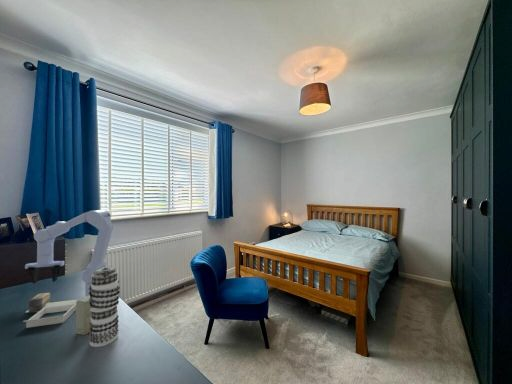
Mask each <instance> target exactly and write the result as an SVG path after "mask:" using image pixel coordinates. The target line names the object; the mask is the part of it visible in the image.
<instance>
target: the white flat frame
mask: <svg viewBox="0 0 512 384" xmlns="http://www.w3.org/2000/svg"><path fill="white" fill-rule="evenodd" d="M79 299H80V298H79ZM79 299H71V300H62V301H55V302H53V301H52V302H50V303H47V304H46V305H45V307H44V308H43V309H42V310H40V311H38V312H36V313H35V314H34V315H33V316H31V317H29V319H28V320H27V319H25V320H22V322H23V323H25V324H26V325H25V326H26V327H25V328H26V329H28V328H35V327H40V326H41V327H42V326H49V325H56V324H63V323H64V322H66V320H67V319H69V318H70V317H71V315H73V313H74V312H76V301H77V300H79ZM59 312H65V313H64V314H63V315H55V316H51V317H50V316H49V317H43V316H44V315H45V314H52V313H59Z"/></svg>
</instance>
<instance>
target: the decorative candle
mask: <svg viewBox="0 0 512 384" xmlns="http://www.w3.org/2000/svg"><path fill="white" fill-rule="evenodd" d="M118 273H119V270H118V269H116V267H114V266H106V267H103V268H99V269H97V270H96V271H95V272H94V273H93V274H92V275H91V276H92V284H91V286H90V288H89V290H90V292H89V294H90V298H89V300H90V303H89V304H90V306H91V308H90V310H91V311H92V317H91V323H90V332H89V334H88V335H89V338H88V340H89V345H90V346H91V347H93V348H96V347H97V348H99V347H100V348H101V347H104V346H106V345H108V344H111V343H113V342H114V341H115V340H116V339H117V338H118V337H119V317H120V316H119V315H118V313H119V312H118V305H119V302H120V301H119V299H120V296H119V294H120V288H121V287H120V286H119V285H118V284H119V283H120V280H119V279H118ZM91 288H92V289H91ZM91 292H92V293H91Z"/></svg>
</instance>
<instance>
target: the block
mask: <svg viewBox="0 0 512 384" xmlns="http://www.w3.org/2000/svg"><path fill="white" fill-rule="evenodd" d="M47 303H51V293H50V292H41V293H38V294H36V295H35V296H34V297H32V298H31V299H29V300H28V310H29V312H30V313H35V312H34V311H38V312H39V311H40V310H42V309H43V308H44V307H45V305H46V304H47Z"/></svg>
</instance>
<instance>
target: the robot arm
mask: <svg viewBox="0 0 512 384" xmlns="http://www.w3.org/2000/svg"><path fill="white" fill-rule="evenodd" d="M111 218H112V214H111V213H110V212H109V211H108V210H106V209H97V210H89V211H86V212H83V213H81V214H80V215H78V216H76V217H72V218H71V219H70V220H67V221H65V220H64V221H60V220H58V221H56V222H55V223H54V224H52V225H48V226H45V229H38V230H36V231H35V232H34V234H33V239H34V240H35V241H36V242H37V244H36V245H37V246H36V247H37V248H36V262H30V263H26V264H25V265H24V269H25V272H26V273H27V275H28V276H29V277H30V279H31V282H32V284H36V283H38V280H39V270H40V268H49V267H51V268H50V269H51V274H52V275H51V276H52V278H51V279H52V282H54V283H55V282H56V281H58V278H59V273H60V272H61V270H62V268H64V267H63V266H65V260H54V249H55V248H54V244H55V239H56V238H57V237H59V236H61V235H64V234H65V233H66V234H67V232H69V231H70V230H71V228H72V227H75V226H78V225H79V224H82V223H88V224H90V225H91V226H93V227H95V228H96V229H97V230H98V233H97V235H96V236H97V237H96V240H95V241H96V242H95V245H94V248H93V252H92V257H91V260H90V262H89V264H87V266H86V269H85V270H84V272H83V273H82V275H81V280H82V281H83V282H84V285H85V286H84V287H85V288H84V289H85V292H84V293H85V296H84V297H86V296H88V295H90V294H89V292H90V290H89V288H90V286H91V284H92V276H91V275H92V274H93V273H94V272H95V271H96V270H97V269H99V268H103V267H107V262H105V261H106V255H107V252H108V247H109V243H110V239H111V237H112V236H111V235H112V232H113V228H114V226H113V223H112V220H111ZM26 269H27V270H26ZM91 289H92V288H91ZM91 293H92V292H91Z"/></svg>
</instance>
